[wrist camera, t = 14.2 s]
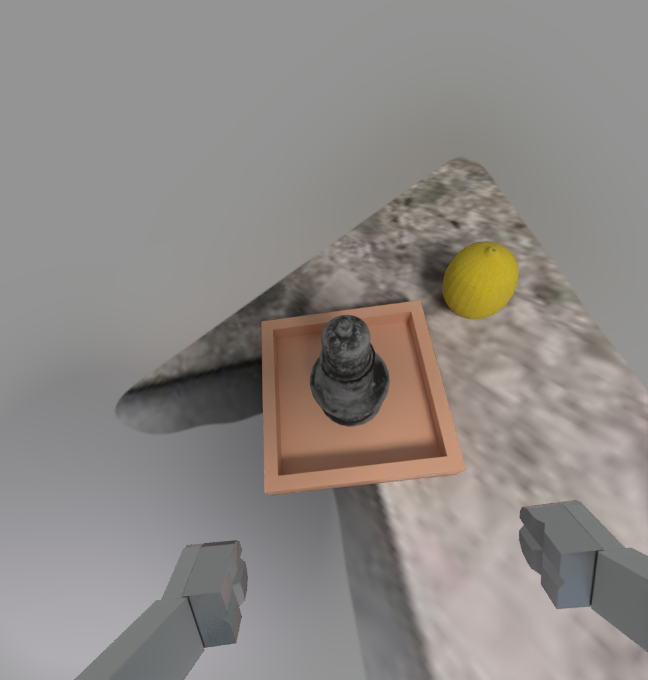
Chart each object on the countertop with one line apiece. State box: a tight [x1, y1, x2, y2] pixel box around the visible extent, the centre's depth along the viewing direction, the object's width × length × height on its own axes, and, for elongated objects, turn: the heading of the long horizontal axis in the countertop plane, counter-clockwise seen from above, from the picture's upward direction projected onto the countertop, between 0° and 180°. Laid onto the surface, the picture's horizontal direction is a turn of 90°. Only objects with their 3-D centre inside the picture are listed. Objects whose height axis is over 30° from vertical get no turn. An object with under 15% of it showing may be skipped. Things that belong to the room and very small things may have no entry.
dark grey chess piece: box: [310, 315, 390, 427], centre depth 24 cm, size 6×6×12 cm
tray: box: [261, 300, 466, 495], centre depth 29 cm, size 14×14×2 cm
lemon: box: [442, 241, 519, 319], centre depth 29 cm, size 6×6×8 cm
